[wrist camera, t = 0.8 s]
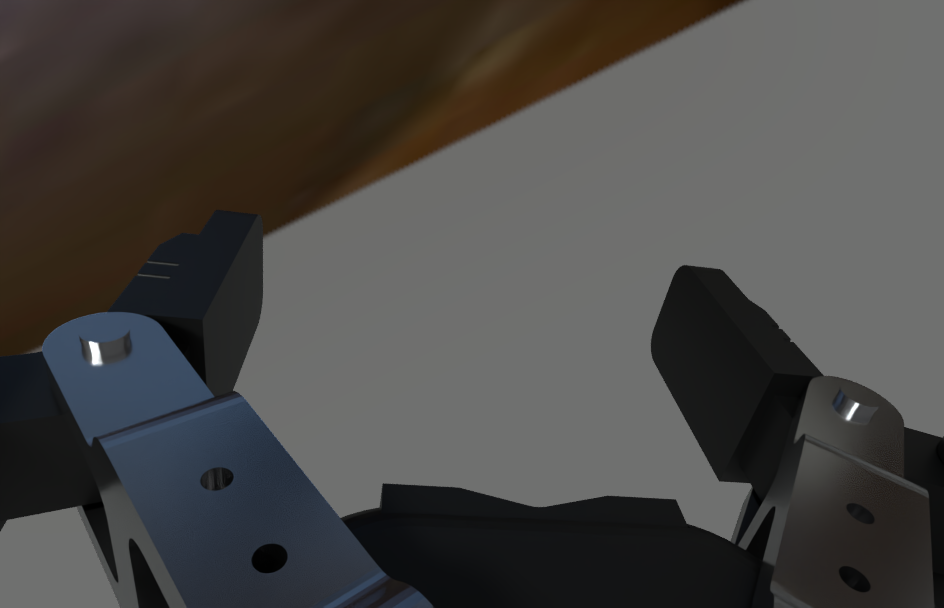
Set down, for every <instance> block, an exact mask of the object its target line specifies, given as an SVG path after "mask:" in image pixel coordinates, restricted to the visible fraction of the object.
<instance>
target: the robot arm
mask: <svg viewBox="0 0 944 608" xmlns="http://www.w3.org/2000/svg"><path fill="white" fill-rule="evenodd" d="M262 298H263V226H262V219H261V216H260V215H257V214H248V213H239V212H231V211H222V210H216V211H215V212H214V213H213V215H212V216H211V218H210V219H209V221H208V222H207V224H206V225H205V227H204V228H203V230H202V231H201V233H200V234H199V235H196V234H187V233H182V234H180V235H178V236H176V237H174V238H172V239H170V240H168V241H166V242H164V243H162V244H160V245H159V246H158V247H157V249H156V250H155V251H154V253H153V254H152V255H151V256H150V258H149V259H148V263H145V264H144V265H143V267H142V268H141V269H140V271H139V272H138V276H135V277H134V278H133V279H132V281H131V282H130V283H129V285H128V286H127V287H126V288H125V290H124V291H123V292H122V294H121V295H120V296H119V297H118V299H117V300H116V301H115V303H114V304H113V305H112V306H111V308H110V309H109V310H108V312H106V313H98V314H92V315H88V316H84V317H80V318H77V319H75V320H72V321H69V322H67V323H65V324H63V325H61V326H60V327H58V328H57V329H55V330H54V331H53V332H52V333H50V334H49V336H48V337H47V338H46V339H45V341H44V344H43V348H42V352H37V353H30V354H23V355H13V356H3V357H0V531H1V529H2V528H3V526H4V524H5V523H6V521H7V520H8V519H14V518H19V517H24V516H30V515H35V514H40V513H45V512H51V511H56V510H61V509H66V508H70V507H77V509H78V512H79V514H80V516H81V518H82V521H83V523H84V525H85V528H86V530H87V532H88V535H89V537H90V539H91V541H92V544H93V546H94V548H95V551H96V553H97V555H98V557H99V560H100V562H101V564H102V566H103V569H104V571H105V573H106V575H107V578H108V580H109V582H110V585H111V587H112V589H113V591H114V594H115V596H116V598H117V601H118V603H119V605H120V608H944V437H943V438H941V437H938V436H934V435H930V434H927V433H923V432H920V431H916V430H913V429H909V428H906V427H904V422H903V419H902V416H901V414H900V413H899V412H898V411H897V409H896V408H895V407H894V406H893V405H892V404H891V403H890V402H888V401H887V400H886V399H884V398H883V397H882V396H880V395H879V394H877V393H876V392H874V391H872V390H870V389H868V388H867V387H865V386H862V385H860V384H858V383H855V382H852V381H850V380H846V379H843V378H839V377H833V376H824V375H823V374H822V373H821V372H820V371H819V370H818V369H817V368H816V367H815V365H814V364H813V363H812V362H811V361H810V360H809V359H808V358H807V357H806V356H805V354H804V353H803V352H802V351H801V350H800V349H799V348H798V347H797V345H796V344H795V343H794V342H790V338H789V337H788V336H787V334H786V333H785V332H784V331H783V330H782V329H779V326H778V325H777V323H776V322H775V321H774V320H773V319H772V318H771V317H770V316H769V314H767V312H766V311H765V310H763V309H762V308H761V307H759V306H757V305H756V304H755V303H753V302H752V301H750V300H749V299H748V298H747V297H746V296H745V295H744V294H743V293H742V292H741V290H740V289H739V288H738V287H737V286H736V285H735V284H734V283H733V282H732V280H731V279H730V278H729V277H728V276H727V275H726V274H725V272H723V271H722V270H720V269H713V268H705V267H695V266H687V265H684V266H681V267H680V268H679V269H678V270H677V271H676V273H675V275H674V277H673V279H672V282H671V284H670V287H669V290H668V292H667V295H666V298H665V300H664V303H663V306H662V308H661V311H660V314H659V317H658V319H657V322H656V325H655V327H654V330H653V334H652V339H651V353H652V358H653V361H654V363H655V365H656V366H657V368H658V370H659V372H660V374H661V376H662V377H663V379H664V381H665V383H666V385H667V387H668V388H669V390H670V392H671V394H672V396H673V398H674V399H675V401H676V403H677V405H678V407H679V408H680V410H681V412H682V414H683V416H684V417H685V420H686V421H687V423H688V425H689V427H690V429H691V430H692V432H693V434H694V436H695V438H696V440H697V441H698V443H699V445H700V447H701V449H702V451H703V452H704V454H705V456H706V457H707V460H708V461H709V463H710V465H711V467H712V469H713V471H714V473H715V474H716V476H717V478H718V480H719V481H724V482H741V483H751V485H752V488H751V490H750V492H749V494H748V495H747V497H746V499H745V501H744V503H743V506H742V509H741V512H740V515H739V518H738V521H737V524H736V527H735V530H734V533H733V536H732V539H731V542H730V541H728V540H727V539H725V538H722V537H720V536H718V535H716V534H714V533H711V532H709V531H706V530H704V529H701V528H698V527H695V526H692V525H689V524H686V521H685V519H684V517H683V515H682V512H681V510H680V508H679V506H678V503H677V501H676V500H674V499H655V498H638V497H637V498H636V497H619V496H604V497H599V498H593V499H587V500H582V501H576V502H570V503H565V504H560V505H553V506H548V507H532V506H527V505H524V504H520V503H516V502H512V501H508V500H504V499H500V498H496V497H493V496H489V495H485V494H481V493H477V492H474V491H470V490H466V489H462V488H455V487H436V486H418V485H401V484H400V485H399V484H383V486H382V493H381V501H380V508H375V509H370V510H364V511H361V512H357V513H354V514H350V515H347V516H345V517H342V518H340V517H339V516H338V515H337V514H336V512H335V511H334V510H333V509H332V507H331V506H330V505H329V504H328V502H327V501H326V500H325V499H324V497H323V496H322V495H321V494H320V492H319V491H318V490H317V489H316V487H315V486H314V485H313V484H312V482H311V481H310V480H309V479H308V477H307V476H306V475H305V474H304V472H303V471H302V470H301V468H300V467H299V466H298V465H297V464H296V462H295V461H294V460H293V458H292V457H291V456H290V455H289V454H288V452H287V451H286V450H285V449H284V448H283V446H282V445H281V443H280V442H279V441H278V440H277V438H276V437H275V436H274V435H273V434H272V432H271V431H270V430H269V428H268V427H267V426H266V425H265V423H264V422H263V421H262V420H261V418H260V417H259V416H258V415H257V414H256V412H255V411H254V410H253V408H252V407H251V406H250V405H249V403H248V402H247V401H246V400H245V399H244V397H243V396H241V395H240V394H239V393H237V392H235V391H233V388H234V386H235V383H236V381H237V378H238V376H239V373H240V370H241V368H242V365H243V362H244V360H245V357H246V355H247V352H248V349H249V347H250V344H251V342H252V339H253V336H254V334H255V331H256V329H257V326H258V323H259V319H260V314H261V308H262Z"/></svg>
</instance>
